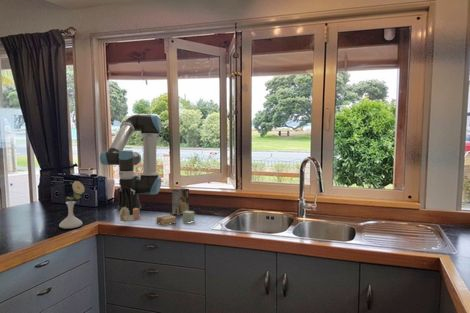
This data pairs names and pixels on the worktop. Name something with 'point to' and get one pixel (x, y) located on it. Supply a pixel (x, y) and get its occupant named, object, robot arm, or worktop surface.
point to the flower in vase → (71, 219)
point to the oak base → (165, 219)
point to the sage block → (188, 216)
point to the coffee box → (180, 201)
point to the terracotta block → (136, 213)
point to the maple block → (124, 215)
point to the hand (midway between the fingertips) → (127, 219)
